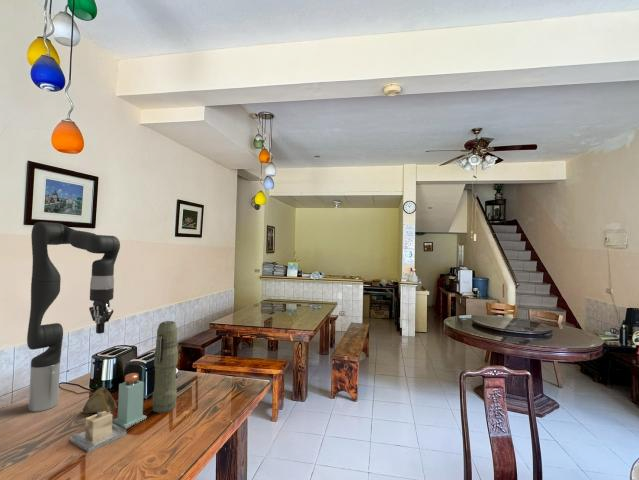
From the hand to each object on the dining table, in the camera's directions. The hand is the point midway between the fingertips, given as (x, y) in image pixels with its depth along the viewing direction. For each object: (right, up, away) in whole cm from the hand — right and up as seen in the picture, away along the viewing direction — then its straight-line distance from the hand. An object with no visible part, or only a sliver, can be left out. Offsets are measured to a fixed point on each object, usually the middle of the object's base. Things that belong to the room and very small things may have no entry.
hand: (100, 333), depth 123 cm
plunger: (+11, -29, 0) cm, 31 cm away
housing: (+7, -32, -11) cm, 34 cm away
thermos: (+19, -34, +10) cm, 41 cm away
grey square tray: (+7, -33, -11) cm, 35 cm away
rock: (-5, -34, +7) cm, 35 cm away
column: (+11, -33, 0) cm, 35 cm away
